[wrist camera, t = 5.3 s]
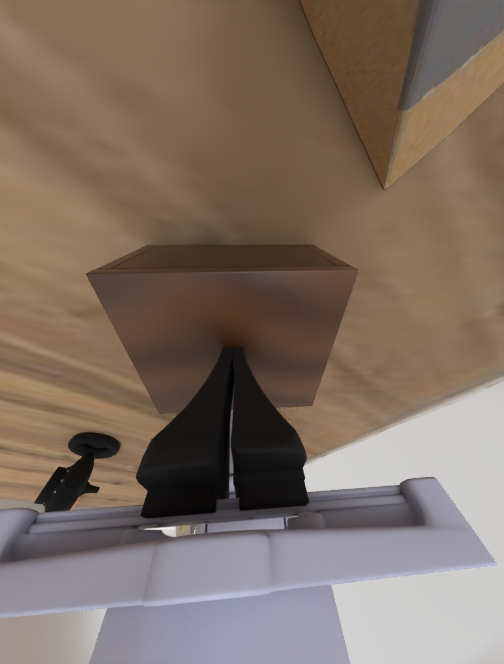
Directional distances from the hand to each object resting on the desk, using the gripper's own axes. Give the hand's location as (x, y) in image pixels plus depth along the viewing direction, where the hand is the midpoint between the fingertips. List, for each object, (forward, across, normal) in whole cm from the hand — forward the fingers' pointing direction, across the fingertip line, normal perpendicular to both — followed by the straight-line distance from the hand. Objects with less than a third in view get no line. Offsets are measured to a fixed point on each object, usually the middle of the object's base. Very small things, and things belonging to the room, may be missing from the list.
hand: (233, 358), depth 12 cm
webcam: (+7, +26, +26) cm, 37 cm away
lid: (+1, 0, 0) cm, 1 cm away
